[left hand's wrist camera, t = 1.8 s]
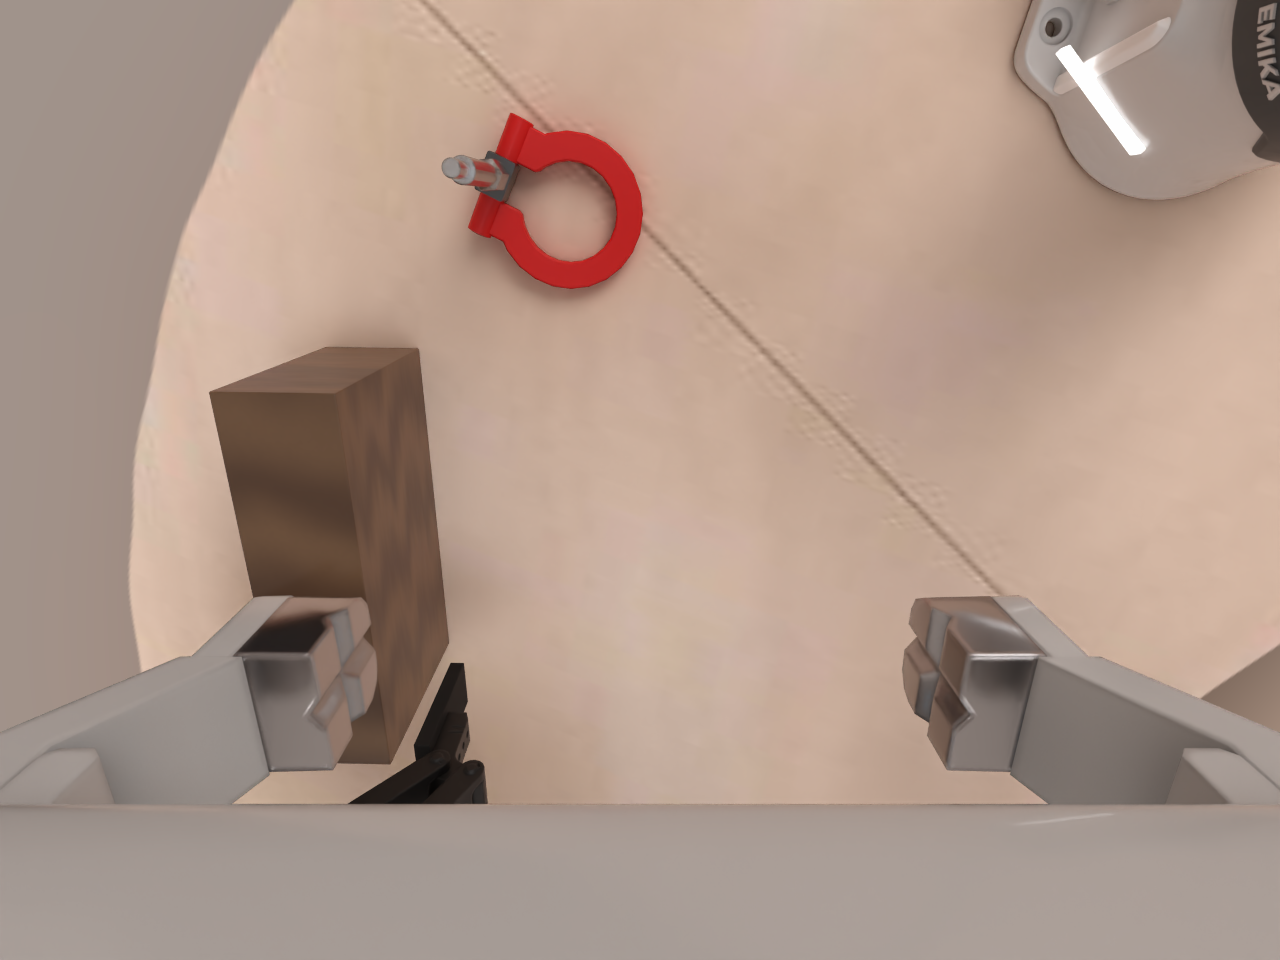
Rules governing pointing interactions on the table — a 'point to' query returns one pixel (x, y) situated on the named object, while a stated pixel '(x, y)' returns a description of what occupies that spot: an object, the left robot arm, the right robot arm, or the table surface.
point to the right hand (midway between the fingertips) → (342, 679)
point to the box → (344, 510)
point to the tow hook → (536, 154)
